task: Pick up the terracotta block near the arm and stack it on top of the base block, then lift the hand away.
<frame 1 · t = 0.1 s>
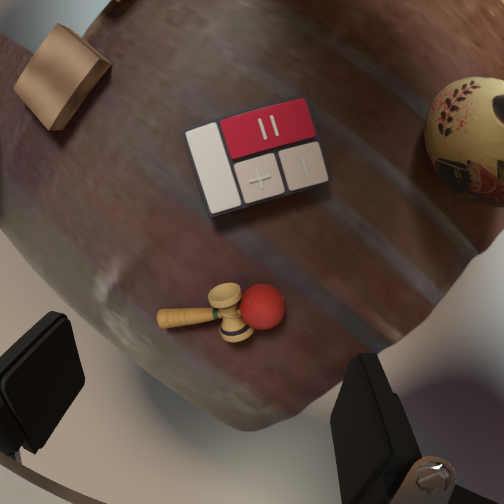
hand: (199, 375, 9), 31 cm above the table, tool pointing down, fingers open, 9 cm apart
ceramic jug: (448, 135, 34), on the table
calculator: (258, 154, 37), on the table
base: (66, 77, 34), on the table
kendama: (221, 304, 44), on the table
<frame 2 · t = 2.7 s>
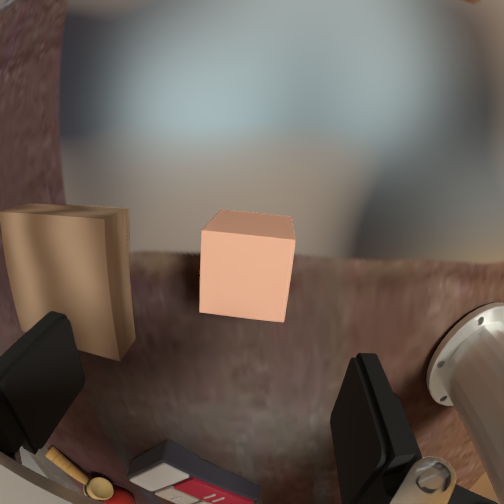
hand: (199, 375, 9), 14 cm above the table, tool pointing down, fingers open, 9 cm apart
block: (253, 246, 23), on the table
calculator: (195, 473, 34), on the table
base: (76, 268, 25), on the table
kendama: (94, 472, 39), on the table
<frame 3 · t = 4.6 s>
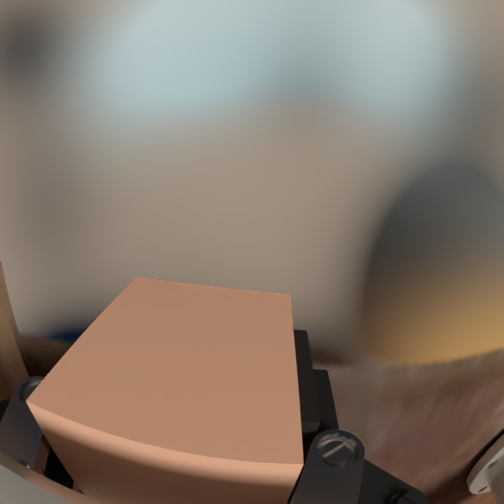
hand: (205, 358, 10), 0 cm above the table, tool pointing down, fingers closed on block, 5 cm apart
block: (208, 350, 10), on the table, touching gripper
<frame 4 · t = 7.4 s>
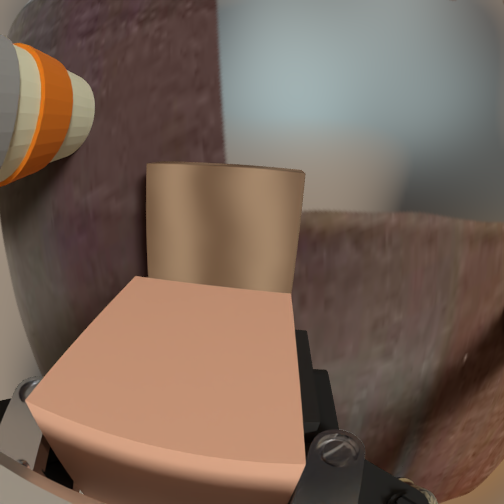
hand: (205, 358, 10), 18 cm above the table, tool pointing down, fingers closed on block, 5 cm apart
reusable coffee cup: (62, 116, 25), on the table
ceramic jug: (392, 486, 40), on the table
block: (208, 349, 10), point 18 cm above the table, touching gripper
base: (226, 231, 28), on the table
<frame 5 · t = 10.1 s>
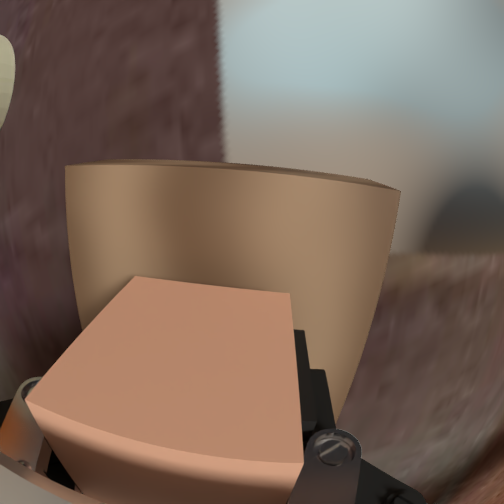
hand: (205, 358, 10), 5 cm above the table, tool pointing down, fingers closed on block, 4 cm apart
block: (207, 349, 10), point 5 cm above the table, touching gripper
base: (226, 287, 15), on the table
when the fingers open (5 cm above the table, at t = 10.4 s): block drops 1 cm, point 4 cm above the table.
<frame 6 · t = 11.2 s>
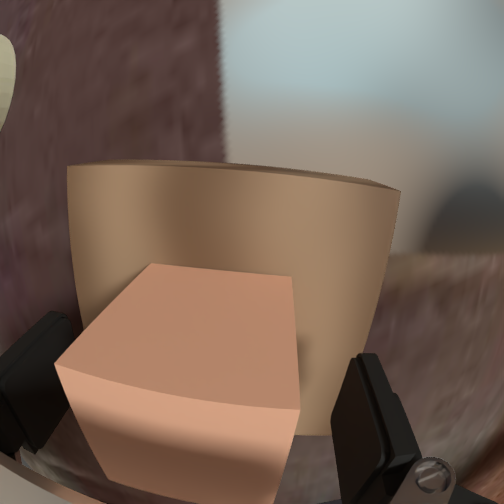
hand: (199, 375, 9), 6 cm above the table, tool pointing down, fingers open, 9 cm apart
block: (217, 330, 12), point 4 cm above the table
base: (227, 287, 15), on the table
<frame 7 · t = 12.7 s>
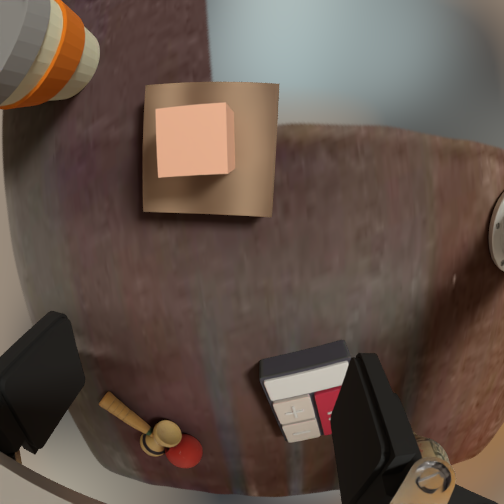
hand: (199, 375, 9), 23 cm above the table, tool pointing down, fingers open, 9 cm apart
reusable coffee cup: (69, 64, 26), on the table
ceramic jug: (396, 441, 43), on the table
block: (205, 141, 26), point 3 cm above the table, touching base
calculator: (311, 388, 39), on the table
base: (213, 147, 30), on the table, touching block
kendama: (154, 420, 43), on the table
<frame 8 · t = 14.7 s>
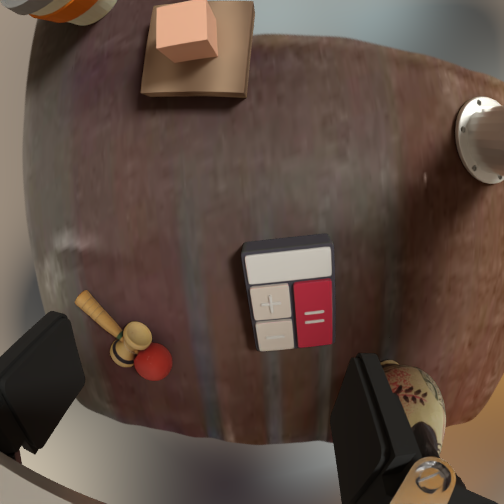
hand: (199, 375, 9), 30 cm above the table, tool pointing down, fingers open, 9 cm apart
reusable coffee cup: (94, 1, 29), on the table
ceramic jug: (383, 376, 46), on the table
block: (195, 40, 28), point 3 cm above the table, touching base
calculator: (290, 290, 42), on the table
base: (202, 53, 32), on the table, touching block
kendama: (128, 327, 46), on the table
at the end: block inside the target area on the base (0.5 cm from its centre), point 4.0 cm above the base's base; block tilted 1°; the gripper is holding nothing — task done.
